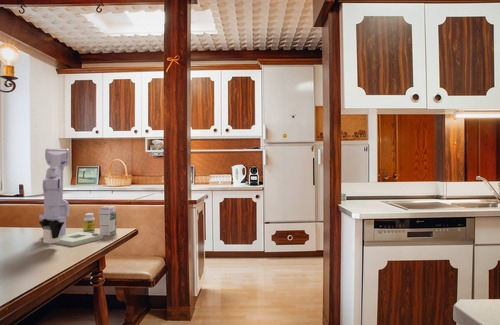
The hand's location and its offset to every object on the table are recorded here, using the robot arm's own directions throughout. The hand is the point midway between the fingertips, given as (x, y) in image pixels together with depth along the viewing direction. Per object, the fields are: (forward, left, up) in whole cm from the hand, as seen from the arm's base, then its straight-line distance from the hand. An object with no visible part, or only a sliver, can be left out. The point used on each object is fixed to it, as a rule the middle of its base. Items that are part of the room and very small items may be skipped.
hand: (51, 237), depth 136 cm
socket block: (-3, +14, -5) cm, 15 cm away
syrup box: (-1, +30, -5) cm, 30 cm away
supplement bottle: (-14, +29, -5) cm, 33 cm away
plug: (0, 0, -2) cm, 2 cm away
